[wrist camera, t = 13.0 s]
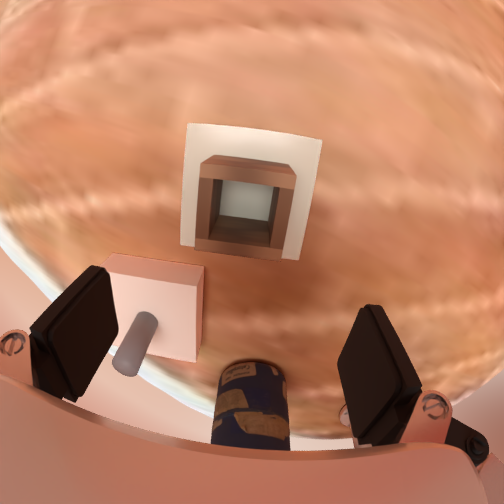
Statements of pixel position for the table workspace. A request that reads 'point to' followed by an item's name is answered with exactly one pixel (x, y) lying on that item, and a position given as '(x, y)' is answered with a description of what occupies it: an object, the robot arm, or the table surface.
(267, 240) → the hollow wooden box
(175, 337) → the post stand
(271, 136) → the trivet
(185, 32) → the table surface
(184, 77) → the table surface
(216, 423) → the canister
